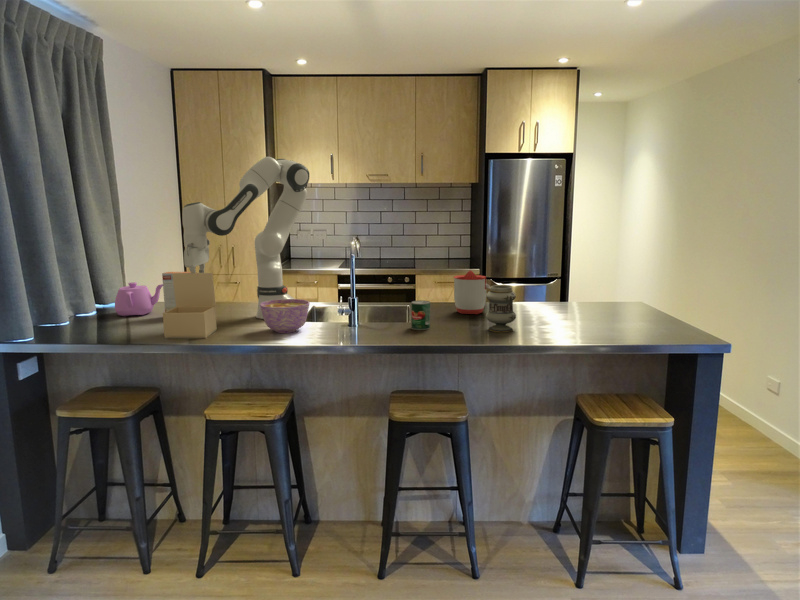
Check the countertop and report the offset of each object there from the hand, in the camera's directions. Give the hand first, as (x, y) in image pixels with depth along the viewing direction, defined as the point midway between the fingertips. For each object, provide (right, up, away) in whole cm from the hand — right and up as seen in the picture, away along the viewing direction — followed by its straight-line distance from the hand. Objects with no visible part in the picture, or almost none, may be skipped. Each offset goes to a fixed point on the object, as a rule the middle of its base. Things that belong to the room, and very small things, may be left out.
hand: (198, 275), depth 241 cm
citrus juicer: (+118, -16, +33) cm, 123 cm away
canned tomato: (+93, -22, +1) cm, 95 cm away
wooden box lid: (0, -6, -5) cm, 8 cm away
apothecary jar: (+125, -22, -3) cm, 127 cm away
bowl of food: (+37, -23, -3) cm, 44 cm away
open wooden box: (0, -24, -8) cm, 25 cm away
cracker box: (-16, -18, +26) cm, 36 cm away
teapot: (-41, -17, +35) cm, 57 cm away
